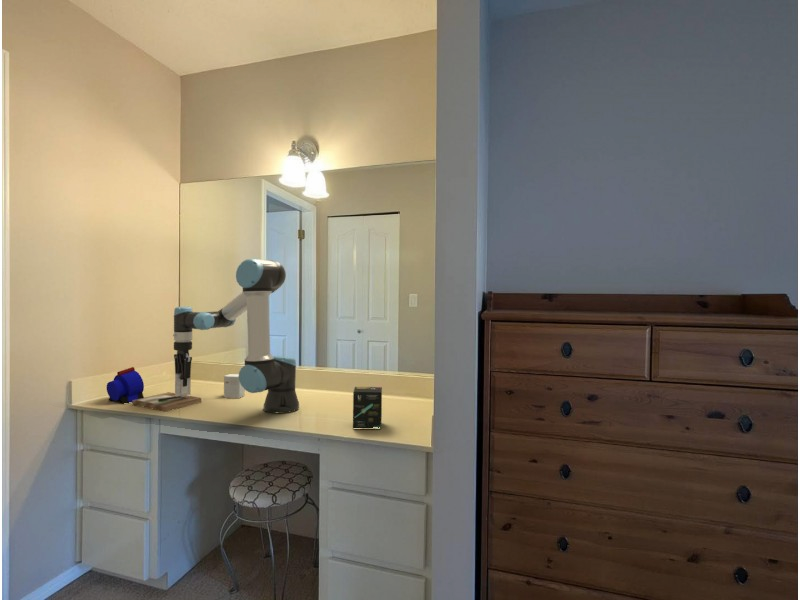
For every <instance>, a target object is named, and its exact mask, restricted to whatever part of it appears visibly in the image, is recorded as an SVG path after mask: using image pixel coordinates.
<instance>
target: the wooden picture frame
mask: <svg viewBox="0 0 800 600" xmlns="http://www.w3.org/2000/svg"><path fill="white" fill-rule="evenodd" d="M168 397H175V392H169V391H168V392H163V393H159V394H155V395H149V396H147V397H145V396H144V398H141V399H136V400H132V404H134V405H133V406H136V405H139V406H138V407H141V406H144V407H143V408H146V407H148V408H147V409H151V408H153V409H152V410H156V409H159V410H158V411H161V410H164V411H163V412H169V411H168V410H170V411H173V410H172V409H174V410H177V409H181V408H184V406H185V407H188V405H189V406H192V404H193V405H195V404H199V403H202V397H200V396H199V397H198V396H192V395H186V397H184V398H175V399H168V400H162V401H159V400H158V399H161V398H168ZM180 407H181V408H180ZM176 408H177V409H176Z"/></svg>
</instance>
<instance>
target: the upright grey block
mask: <svg viewBox="0 0 800 600" xmlns="http://www.w3.org/2000/svg"><path fill="white" fill-rule="evenodd" d="M191 375H192V374H191V373H190V378H188V379H187V393H184V394H181V380H180V378H182V373H177V374H175V373H174V393H175V397H168V398H161V399H158V400H159V401H162V400H168V399H175V398H184V397H186V395H188V396H191V385H192V384H191V378H192V377H191Z"/></svg>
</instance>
